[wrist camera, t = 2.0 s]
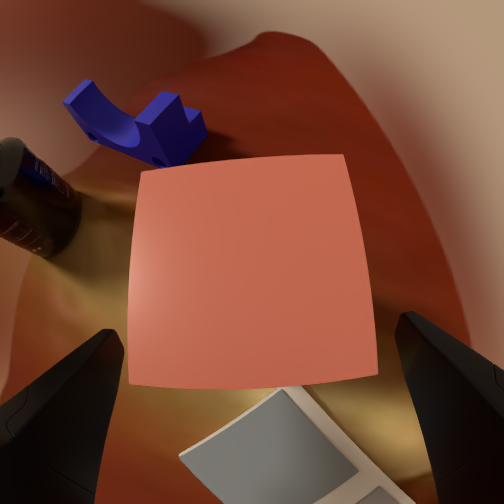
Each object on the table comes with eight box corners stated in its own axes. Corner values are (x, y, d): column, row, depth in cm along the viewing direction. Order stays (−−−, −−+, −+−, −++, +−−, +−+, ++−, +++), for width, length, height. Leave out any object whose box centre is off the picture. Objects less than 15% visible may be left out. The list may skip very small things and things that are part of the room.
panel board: (412, 500, 11) (417, 504, 11) (315, 562, 10) (316, 569, 9) (292, 376, 16) (294, 377, 15) (181, 452, 14) (177, 456, 14)
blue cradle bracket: (208, 135, 22) (192, 81, 16) (176, 176, 21) (149, 124, 15) (118, 109, 25) (95, 69, 19) (90, 140, 23) (62, 102, 18)
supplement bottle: (38, 199, 22) (-39, 132, 10) (88, 181, 21) (9, 92, 10) (27, 265, 19) (-71, 212, 8) (79, 253, 19) (-33, 179, 8)
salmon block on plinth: (311, 358, 16) (392, 385, 5) (218, 364, 16) (118, 396, 5) (304, 269, 18) (351, 145, 6) (215, 275, 18) (133, 164, 7)
